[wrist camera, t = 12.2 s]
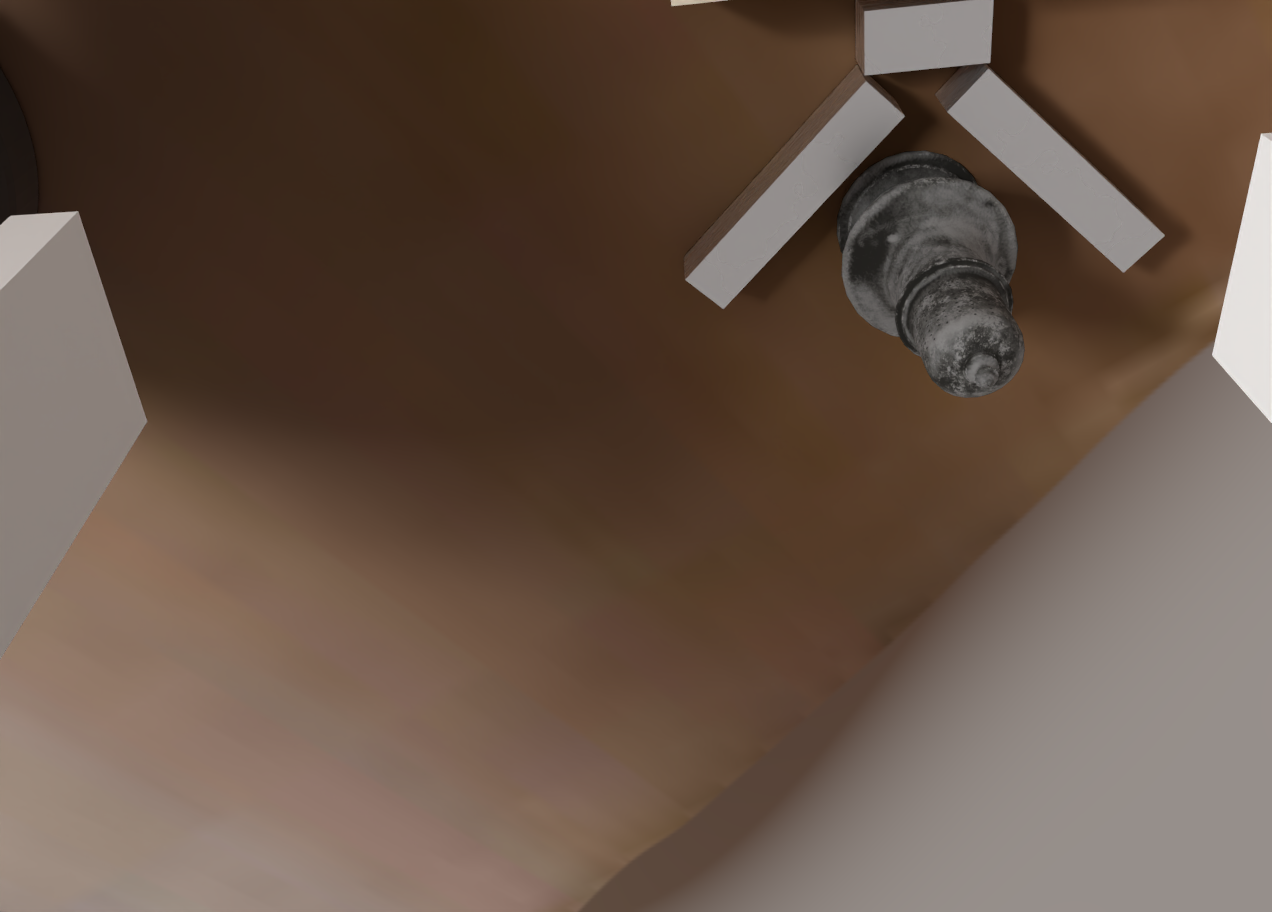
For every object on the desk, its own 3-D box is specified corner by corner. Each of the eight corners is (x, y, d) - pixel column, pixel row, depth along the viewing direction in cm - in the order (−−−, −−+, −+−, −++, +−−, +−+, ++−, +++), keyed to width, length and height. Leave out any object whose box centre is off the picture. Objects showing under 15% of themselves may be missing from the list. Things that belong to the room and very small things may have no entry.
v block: (662, 17, 40) (663, 32, 38) (1177, -37, 39) (1201, -24, 37) (686, 288, 45) (688, 312, 44) (1140, 247, 44) (1160, 269, 43)
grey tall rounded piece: (1011, 258, 45) (1119, 427, 35) (860, 319, 46) (921, 500, 36) (964, 114, 42) (1066, 253, 32) (804, 185, 43) (853, 339, 33)
